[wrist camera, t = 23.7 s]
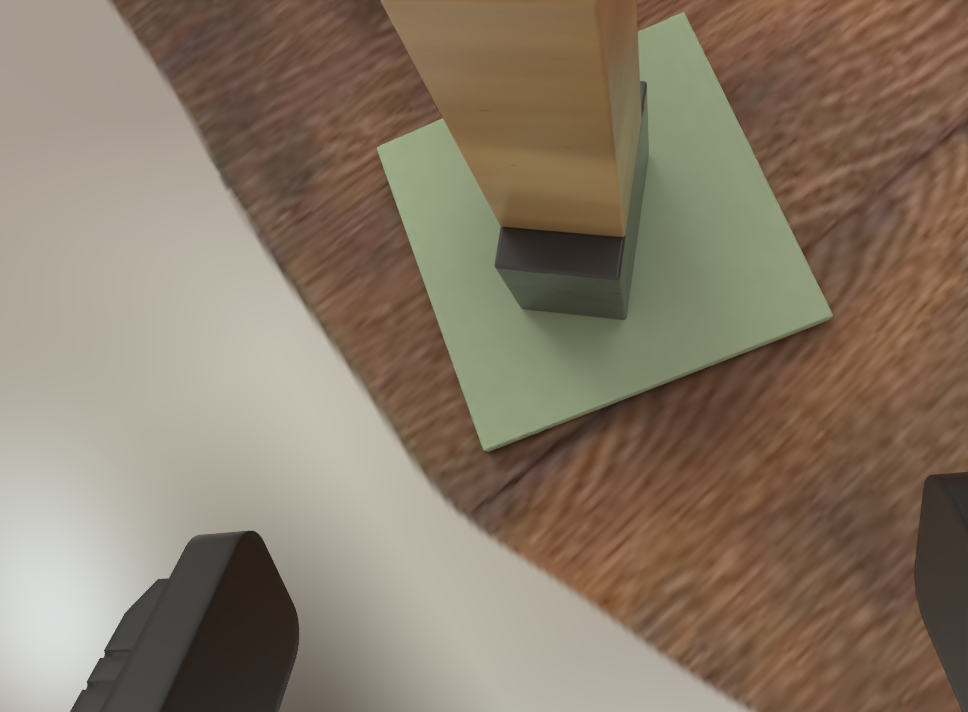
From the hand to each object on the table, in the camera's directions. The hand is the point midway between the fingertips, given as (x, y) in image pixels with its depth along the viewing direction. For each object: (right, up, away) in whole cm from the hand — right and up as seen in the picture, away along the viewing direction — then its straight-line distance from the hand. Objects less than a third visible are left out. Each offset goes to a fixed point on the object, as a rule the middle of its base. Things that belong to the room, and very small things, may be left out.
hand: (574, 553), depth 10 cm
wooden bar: (+2, +6, +13) cm, 15 cm away
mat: (+2, +6, +14) cm, 15 cm away
